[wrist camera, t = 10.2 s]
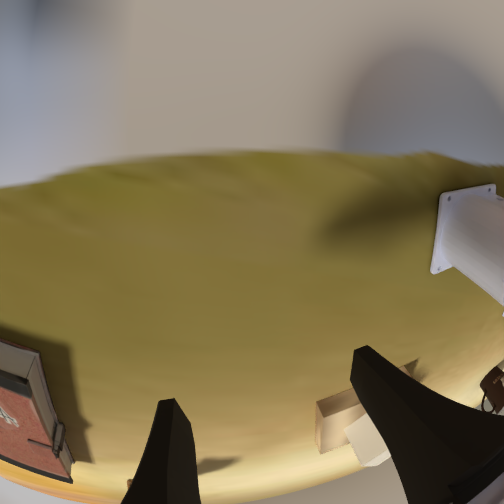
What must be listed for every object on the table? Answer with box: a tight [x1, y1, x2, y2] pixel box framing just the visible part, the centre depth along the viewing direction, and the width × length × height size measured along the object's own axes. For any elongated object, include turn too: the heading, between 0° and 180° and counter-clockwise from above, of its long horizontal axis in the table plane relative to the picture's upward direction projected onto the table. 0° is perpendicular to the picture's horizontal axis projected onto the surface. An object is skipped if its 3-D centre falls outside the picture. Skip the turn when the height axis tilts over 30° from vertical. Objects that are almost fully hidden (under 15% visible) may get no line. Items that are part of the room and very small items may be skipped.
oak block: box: [315, 366, 413, 454], centre depth 33 cm, size 12×12×3 cm
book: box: [0, 338, 75, 484], centre depth 20 cm, size 26×18×5 cm
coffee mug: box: [480, 366, 504, 415], centre depth 43 cm, size 12×9×10 cm
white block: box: [344, 413, 391, 466], centre depth 29 cm, size 4×4×6 cm
